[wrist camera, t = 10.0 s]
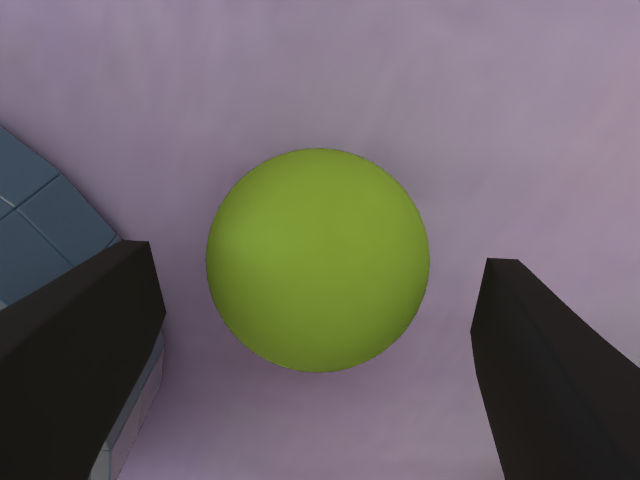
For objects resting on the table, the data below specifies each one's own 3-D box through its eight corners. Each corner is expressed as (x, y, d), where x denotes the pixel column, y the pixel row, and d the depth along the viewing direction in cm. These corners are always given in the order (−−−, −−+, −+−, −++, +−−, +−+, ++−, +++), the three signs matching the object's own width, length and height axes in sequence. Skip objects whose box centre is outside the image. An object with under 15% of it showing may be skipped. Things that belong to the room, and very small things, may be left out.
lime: (458, 211, 13) (501, 349, 9) (326, 305, 15) (308, 450, 11) (327, 73, 11) (299, 159, 7) (200, 201, 14) (121, 325, 9)
